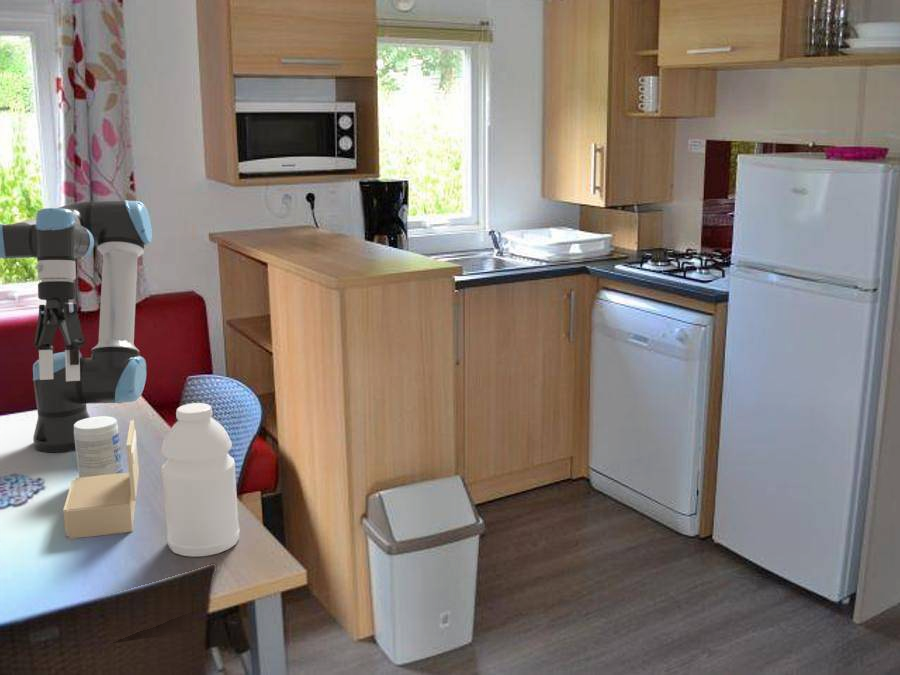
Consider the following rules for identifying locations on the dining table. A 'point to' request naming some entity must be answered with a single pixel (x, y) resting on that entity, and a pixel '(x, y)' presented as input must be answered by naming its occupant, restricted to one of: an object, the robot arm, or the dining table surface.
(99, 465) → the supplement tub
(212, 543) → the bottle
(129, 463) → the flap
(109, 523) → the carton
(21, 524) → the dining table surface
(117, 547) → the dining table surface
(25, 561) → the dining table surface
